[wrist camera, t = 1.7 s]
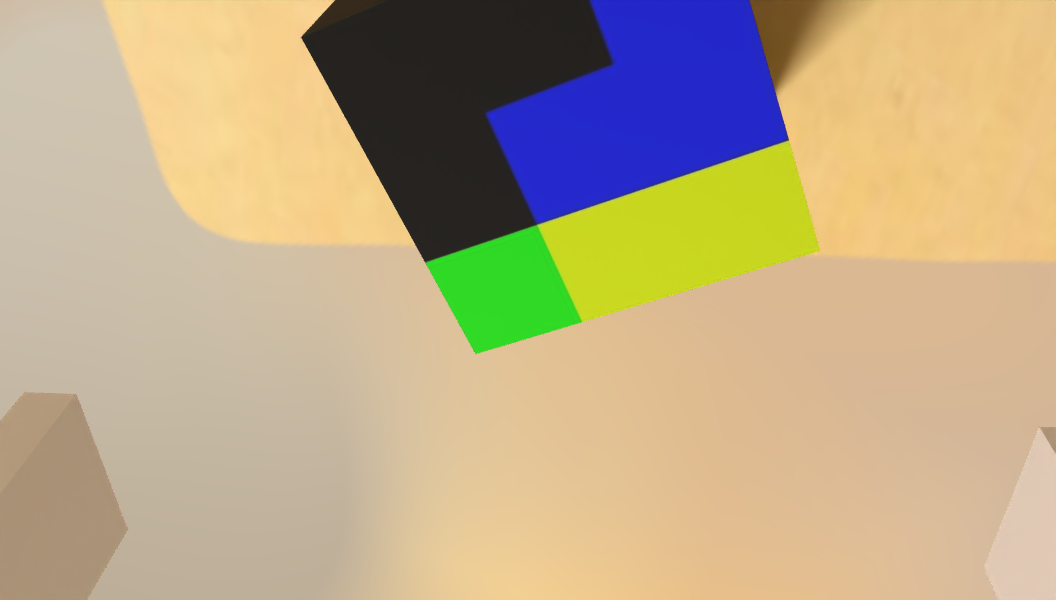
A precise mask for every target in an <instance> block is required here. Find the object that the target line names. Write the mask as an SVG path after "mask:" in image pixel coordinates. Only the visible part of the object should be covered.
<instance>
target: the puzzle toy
mask: <svg viewBox="0 0 1056 600" xmlns="http://www.w3.org/2000/svg"><path fill="white" fill-rule="evenodd" d="M301 38H302V40H303V42H304V43H305V45H306V47H307V49H308V51H309V52H310V54H311V56H312V58H313V60H314V61H315V63H316V65H317V67H318V69H319V71H320V72H321V74H322V76H323V78H324V80H325V81H326V83H327V85H328V87H329V89H330V91H331V92H332V94H333V96H334V98H335V100H336V101H337V103H338V105H339V107H340V109H341V111H342V112H343V114H344V116H345V118H346V120H347V121H348V123H349V125H350V127H351V129H352V130H353V132H354V134H355V136H356V138H357V140H358V141H359V143H360V145H361V147H362V149H363V150H364V152H365V154H366V156H367V158H368V160H369V161H370V163H371V165H372V167H373V169H374V170H375V172H376V174H377V176H378V178H379V179H380V181H381V183H382V185H383V187H384V189H385V190H386V192H387V194H388V196H389V198H390V199H391V201H392V203H393V205H394V207H395V209H396V210H397V212H398V214H399V216H400V218H401V219H402V221H403V223H404V225H405V227H406V229H407V230H408V232H409V234H410V236H411V238H412V239H413V241H414V243H415V245H416V247H417V248H418V250H419V252H420V254H421V255H422V258H423V259H424V261H425V263H426V265H427V267H428V268H429V270H430V272H431V274H432V276H433V278H434V279H435V281H436V283H437V285H438V287H439V288H440V290H441V292H442V294H443V296H444V297H445V299H446V301H447V303H448V305H449V307H450V308H451V310H452V312H453V314H454V316H455V317H456V319H457V321H458V323H459V325H460V327H461V328H462V330H463V332H464V334H465V336H466V337H467V339H468V341H469V343H470V345H471V347H472V348H473V350H474V352H475V354H477V353H480V352H484V351H487V350H490V349H494V348H498V347H501V346H504V345H507V344H511V343H514V342H518V341H520V340H524V339H527V338H531V337H534V336H537V335H541V334H544V333H548V332H551V331H554V330H558V329H561V328H564V327H568V326H571V325H574V324H578V323H581V322H584V321H587V320H591V319H594V318H598V317H601V316H604V315H608V314H611V313H614V312H617V311H621V310H624V309H628V308H631V307H634V306H638V305H641V304H644V303H648V302H651V301H654V300H658V299H661V298H664V297H668V296H671V295H674V294H678V293H681V292H684V291H688V290H691V289H694V288H698V287H701V286H705V285H708V284H711V283H715V282H718V281H721V280H725V279H728V278H731V277H734V276H738V275H741V274H744V273H748V272H751V271H755V270H758V269H761V268H765V267H768V266H771V265H774V264H778V263H781V262H785V261H788V260H791V259H795V258H798V257H802V256H805V255H808V254H812V253H815V252H818V251H820V248H819V245H818V241H817V238H816V234H815V231H814V227H813V223H812V220H811V216H810V213H809V209H808V206H807V202H806V199H805V195H804V192H803V188H802V185H801V181H800V177H799V174H798V170H797V167H796V163H795V160H794V156H793V153H792V149H791V146H790V142H789V139H788V135H787V131H786V128H785V124H784V121H783V117H782V114H781V110H780V107H779V103H778V100H777V96H776V93H775V89H774V85H773V82H772V78H771V75H770V71H769V68H768V64H767V61H766V57H765V54H764V50H763V47H762V43H761V39H760V36H759V32H758V29H757V25H756V22H755V18H754V15H753V11H752V8H751V4H750V1H749V0H335V1H334V2H333V3H332V4H331V5H330V6H329V7H328V9H327V10H326V11H325V12H324V13H323V14H322V15H321V16H320V17H319V18H318V19H317V20H316V22H315V23H314V24H313V25H312V26H311V27H310V28H309V29H308V30H307V31H306V32H305V33H304V35H303V36H302V37H301Z"/></svg>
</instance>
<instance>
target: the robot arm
mask: <svg viewBox="0 0 1056 600" xmlns="http://www.w3.org/2000/svg"><path fill="white" fill-rule="evenodd" d="M127 530H128V529H127V526H126V524H125V521H124V519H123V516H122V513H121V511H120V508H119V505H118V503H117V500H116V497H115V495H114V492H113V489H112V487H111V484H110V482H109V479H108V476H107V474H106V471H105V468H104V466H103V463H102V460H101V458H100V455H99V453H98V450H97V447H96V445H95V442H94V439H93V437H92V434H91V432H90V429H89V427H88V424H87V421H86V419H85V416H84V413H83V410H82V408H81V405H80V402H79V400H78V397H77V395H76V394H54V393H24V394H23V395H22V396H21V397H20V398H19V399H18V401H17V402H16V403H15V405H14V406H13V407H12V408H11V409H10V410H9V411H8V412H7V414H6V415H5V416H4V418H2V420H1V421H0V600H87V599H88V597H89V595H90V594H91V592H92V590H93V588H94V587H95V585H96V583H97V582H98V579H99V578H100V576H101V574H102V573H103V571H104V569H105V568H106V566H107V564H108V562H109V561H110V559H111V557H112V556H113V554H114V552H115V550H116V548H117V547H118V545H119V544H120V542H121V540H122V538H123V537H124V535H125V533H126V531H127ZM984 569H985V571H986V573H987V576H988V578H989V580H990V583H991V585H992V587H993V589H994V592H995V594H996V596H997V598H998V600H1056V428H1054V427H1053V428H1052V427H1039V429H1038V432H1037V434H1036V437H1035V439H1034V442H1033V444H1032V447H1031V450H1030V452H1029V455H1028V457H1027V460H1026V462H1025V465H1024V467H1023V470H1022V472H1021V475H1020V478H1019V480H1018V483H1017V485H1016V488H1015V490H1014V493H1013V496H1012V498H1011V500H1010V503H1009V505H1008V508H1007V511H1006V513H1005V516H1004V518H1003V521H1002V523H1001V526H1000V528H999V531H998V533H997V536H996V538H995V541H994V544H993V546H992V549H991V551H990V554H989V556H988V559H987V562H986V564H985V566H984Z"/></svg>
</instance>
